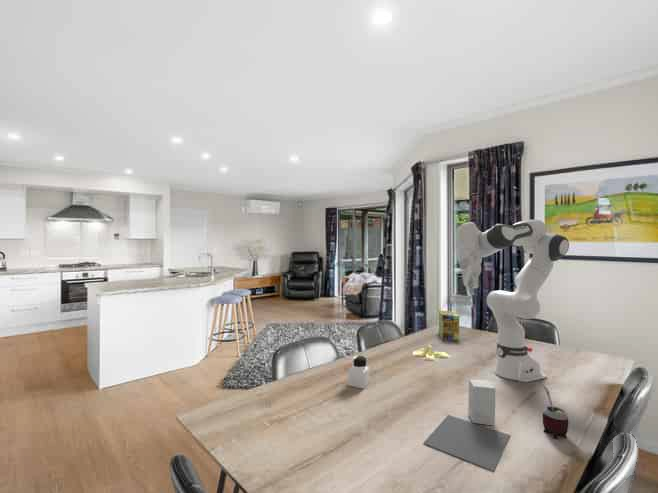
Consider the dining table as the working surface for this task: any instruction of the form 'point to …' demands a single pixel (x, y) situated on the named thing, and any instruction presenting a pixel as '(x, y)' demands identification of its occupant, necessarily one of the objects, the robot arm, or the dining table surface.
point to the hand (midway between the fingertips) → (474, 291)
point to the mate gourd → (554, 419)
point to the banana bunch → (429, 353)
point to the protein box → (449, 325)
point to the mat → (469, 442)
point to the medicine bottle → (359, 372)
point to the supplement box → (481, 402)
